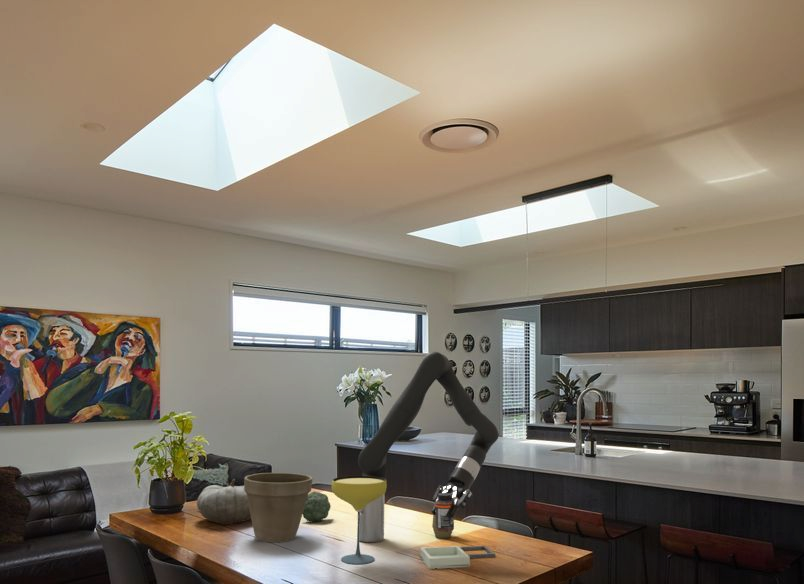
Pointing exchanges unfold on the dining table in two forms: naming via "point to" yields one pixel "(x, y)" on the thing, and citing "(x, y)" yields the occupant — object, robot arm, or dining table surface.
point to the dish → (444, 557)
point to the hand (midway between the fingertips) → (441, 515)
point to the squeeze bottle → (439, 533)
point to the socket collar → (488, 554)
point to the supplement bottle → (443, 513)
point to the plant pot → (276, 504)
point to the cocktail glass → (358, 503)
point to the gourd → (224, 504)
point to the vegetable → (316, 507)
